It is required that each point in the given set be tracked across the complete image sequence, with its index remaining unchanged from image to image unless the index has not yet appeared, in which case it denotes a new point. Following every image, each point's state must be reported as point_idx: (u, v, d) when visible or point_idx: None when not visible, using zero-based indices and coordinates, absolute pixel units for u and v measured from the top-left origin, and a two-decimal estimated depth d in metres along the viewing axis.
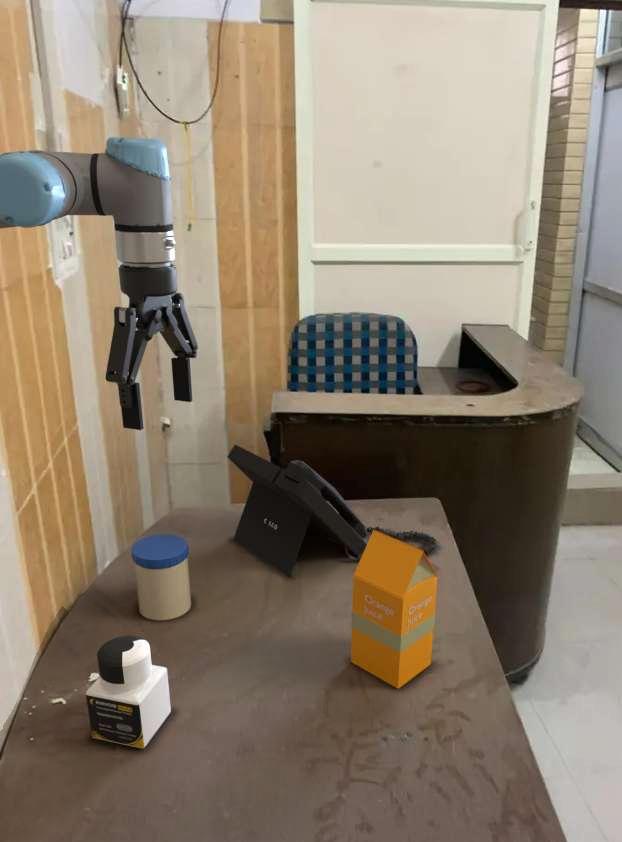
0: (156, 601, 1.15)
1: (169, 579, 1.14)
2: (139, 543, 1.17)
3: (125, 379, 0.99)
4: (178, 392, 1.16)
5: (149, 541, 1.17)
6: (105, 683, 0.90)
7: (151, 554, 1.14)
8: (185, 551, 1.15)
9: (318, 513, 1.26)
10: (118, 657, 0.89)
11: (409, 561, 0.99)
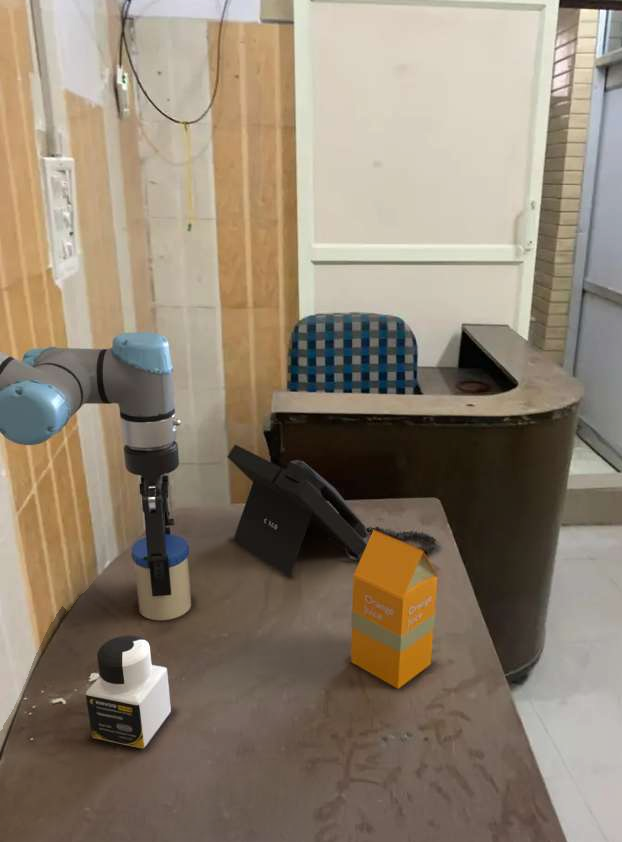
0: (156, 601, 1.15)
1: None
2: (139, 543, 1.17)
3: None
4: None
5: None
6: (105, 683, 0.90)
7: None
8: (185, 551, 1.15)
9: (318, 513, 1.26)
10: (118, 657, 0.89)
11: (409, 561, 0.99)
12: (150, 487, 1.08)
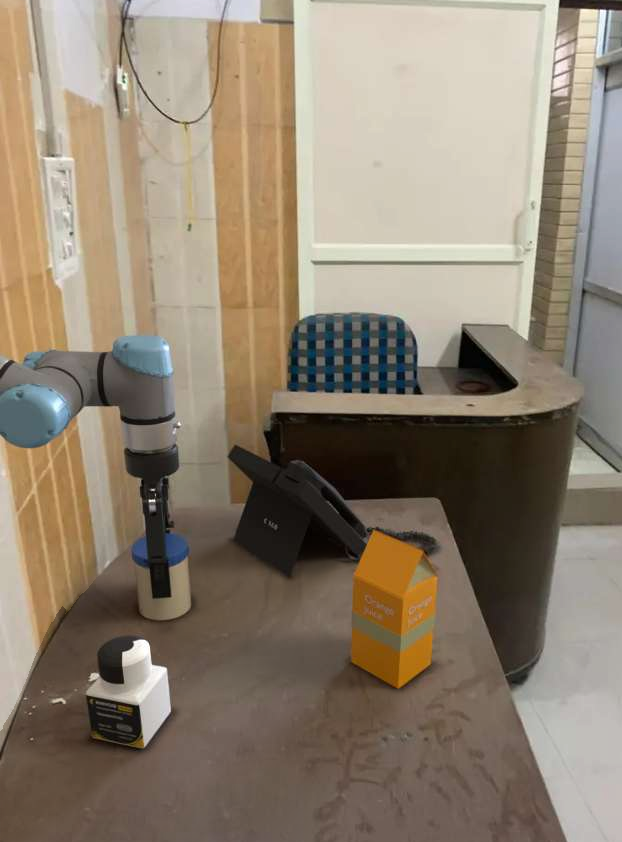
0: (156, 601, 1.15)
1: None
2: None
3: None
4: None
5: None
6: (105, 683, 0.90)
7: (177, 545, 1.16)
8: None
9: (318, 513, 1.26)
10: (118, 657, 0.89)
11: (409, 561, 0.99)
12: (150, 490, 1.08)
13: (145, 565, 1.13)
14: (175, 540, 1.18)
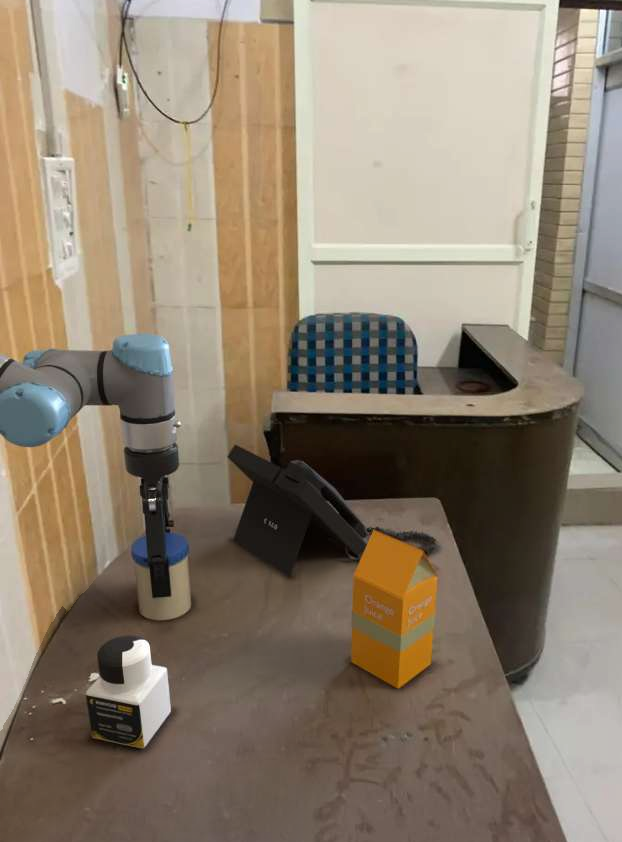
0: (156, 601, 1.15)
1: None
2: (182, 539, 1.17)
3: None
4: None
5: (176, 544, 1.16)
6: (105, 683, 0.90)
7: None
8: (132, 552, 1.14)
9: (318, 513, 1.26)
10: (118, 657, 0.89)
11: (409, 561, 0.99)
12: (150, 489, 1.08)
13: (188, 551, 1.17)
14: None
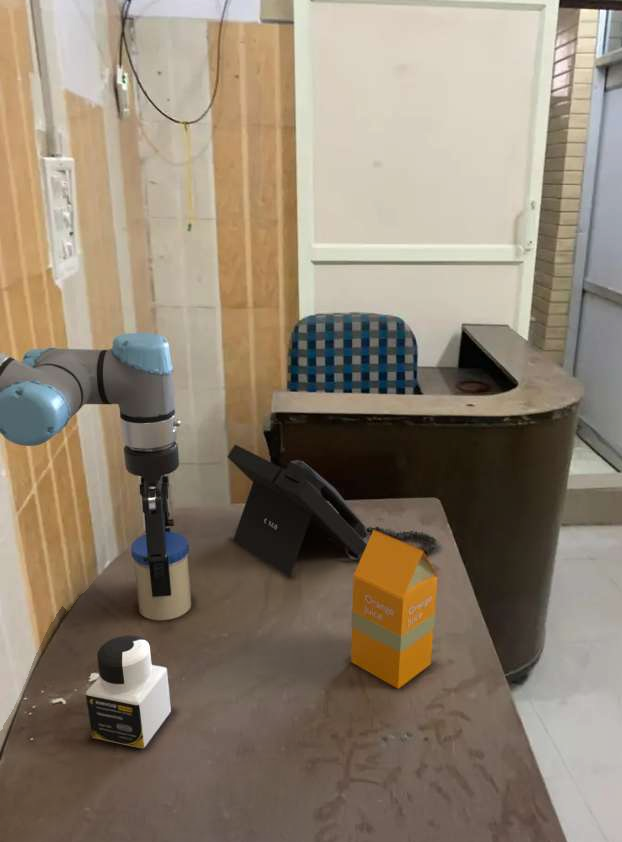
0: (156, 601, 1.15)
1: None
2: (145, 537, 1.18)
3: None
4: None
5: None
6: (105, 683, 0.90)
7: (145, 550, 1.14)
8: (178, 553, 1.14)
9: (318, 513, 1.26)
10: (118, 657, 0.89)
11: (409, 561, 0.99)
12: (150, 488, 1.08)
13: None
14: None
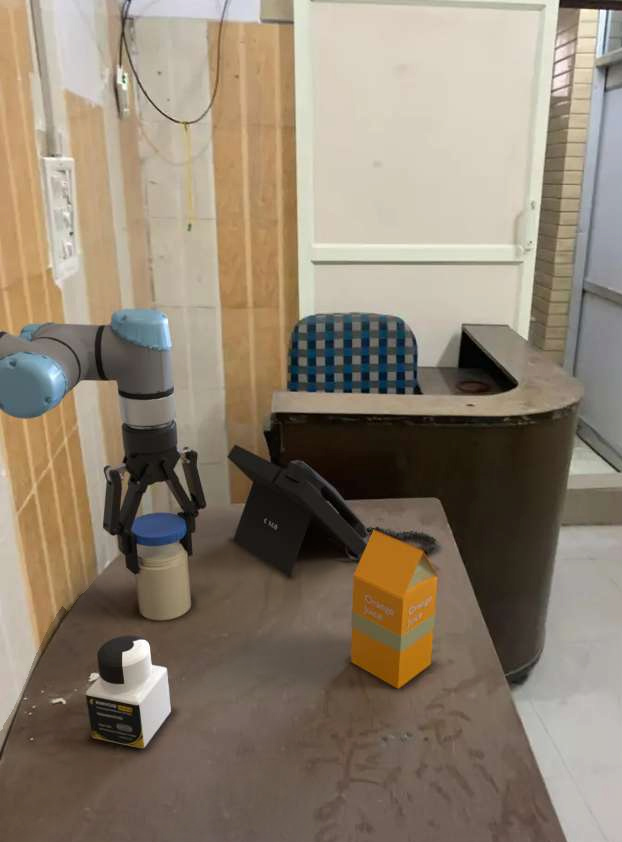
0: (156, 601, 1.15)
1: (168, 579, 1.14)
2: (148, 534, 1.11)
3: None
4: None
5: (144, 530, 1.12)
6: (105, 683, 0.90)
7: (173, 526, 1.14)
8: None
9: (318, 513, 1.26)
10: (118, 657, 0.89)
11: (409, 561, 0.99)
12: None
13: (136, 542, 1.12)
14: (174, 521, 1.16)
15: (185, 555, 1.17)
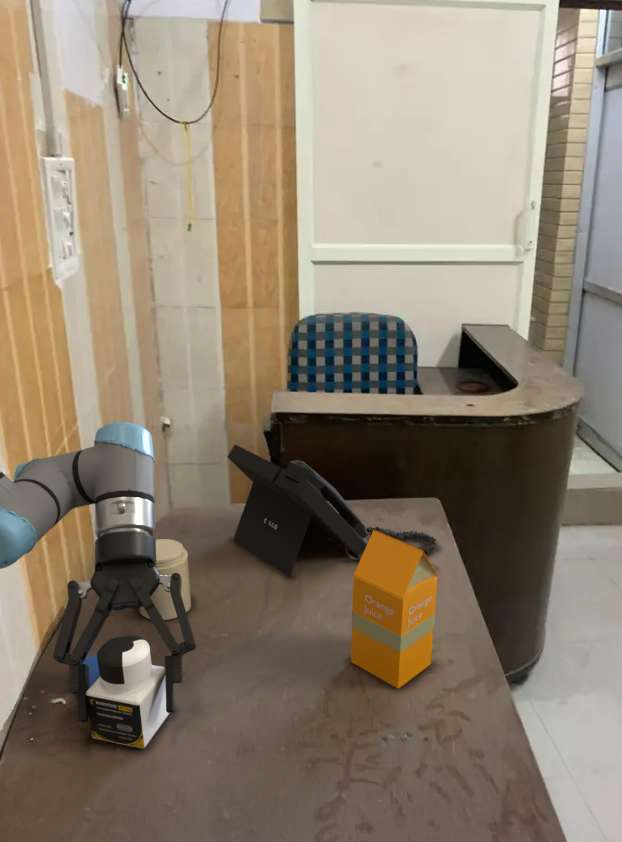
0: (156, 601, 1.15)
1: None
2: None
3: (59, 655, 0.91)
4: None
5: None
6: (105, 683, 0.90)
7: None
8: None
9: (318, 513, 1.26)
10: (118, 657, 0.89)
11: (409, 561, 0.99)
12: None
13: None
14: None
15: (185, 555, 1.17)
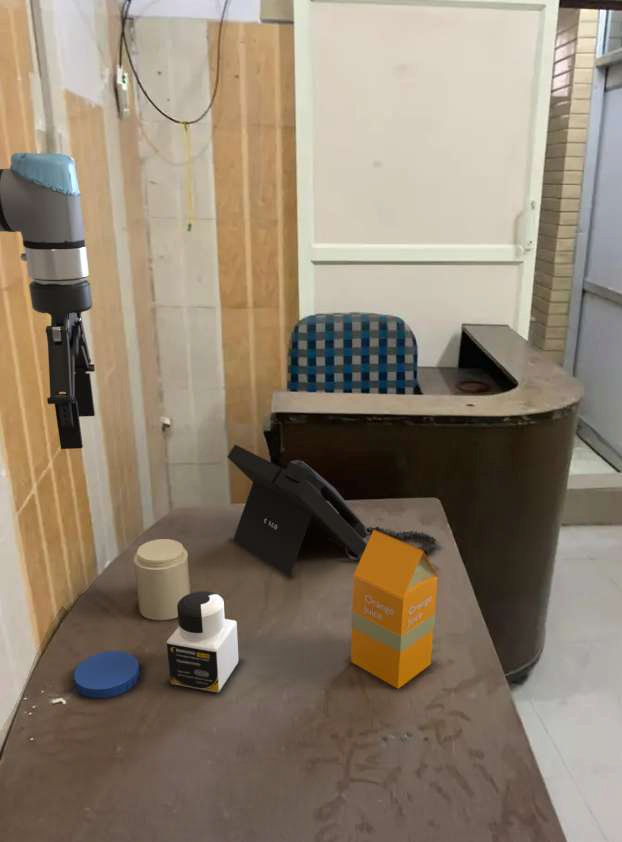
0: (156, 601, 1.15)
1: (169, 579, 1.14)
2: (122, 679, 1.01)
3: None
4: None
5: (110, 680, 1.01)
6: (185, 632, 1.00)
7: (123, 660, 1.05)
8: None
9: (318, 513, 1.26)
10: (198, 608, 0.99)
11: (409, 561, 0.99)
12: None
13: (113, 694, 1.00)
14: (113, 657, 1.05)
15: (185, 555, 1.17)
